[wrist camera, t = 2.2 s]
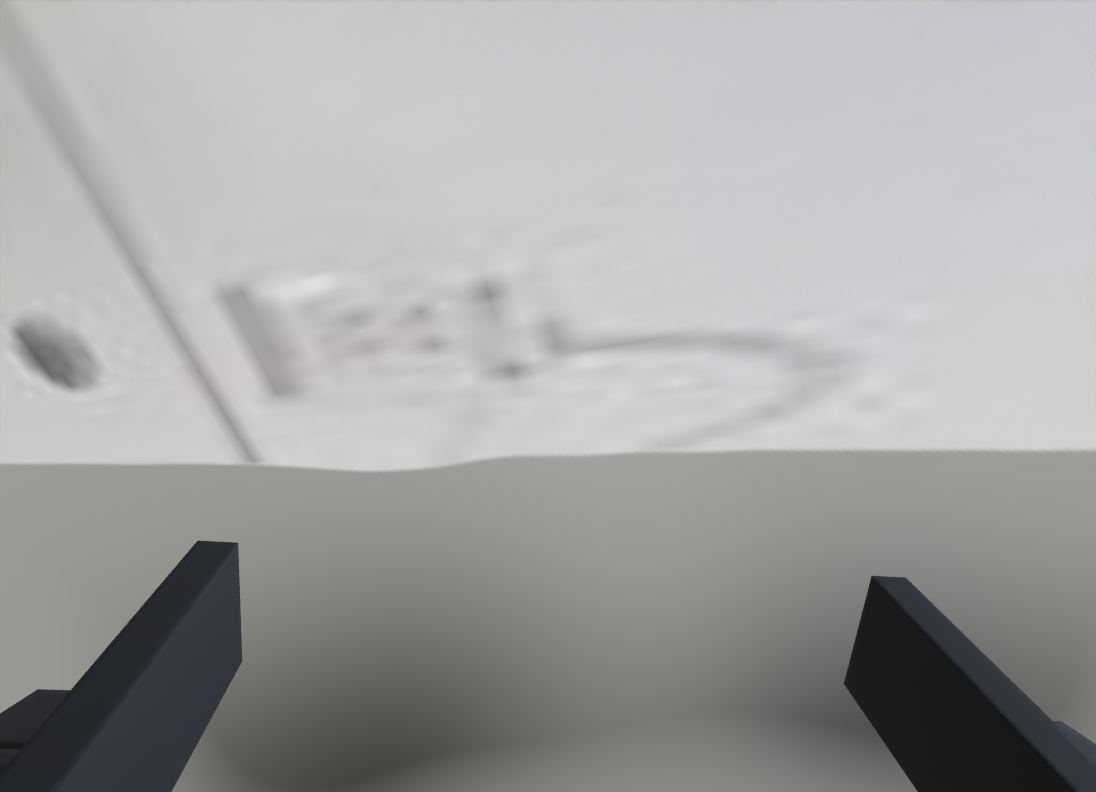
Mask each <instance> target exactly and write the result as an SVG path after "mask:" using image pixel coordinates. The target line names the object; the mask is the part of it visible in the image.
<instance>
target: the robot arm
mask: <svg viewBox="0 0 1096 792" xmlns="http://www.w3.org/2000/svg"><path fill="white" fill-rule="evenodd" d="M241 662H242V645H241V616H240V586H239V557H238V543H231V542H211V541H197V542H196V544H195V545H194V546H193V547H192V548H191V549H190V550H189V552H188V553H187V554H186V555H185V556H184V557H183V559H182V560H181V561H180V562H179V563H178V565H177V566H176V567H175V568H174V569H173V570H172V572H171V573H170V574H169V575H168V576H167V578H166V579H165V580H164V581H163V582H162V583H161V585H160V586H159V587H158V588H157V589H156V590H155V592H154V593H153V594H152V595H151V596H150V598H149V599H148V600H147V601H146V602H145V603H144V605H143V606H142V607H141V608H140V610H139V611H138V612H137V613H136V614H135V615H134V616H133V618H132V619H131V620H130V621H129V622H128V623H127V625H126V626H125V627H124V628H123V629H122V631H121V632H120V633H119V634H118V635H117V636H116V638H115V639H114V640H113V641H112V642H111V644H110V645H109V646H108V647H107V648H106V649H105V651H104V652H103V653H102V654H101V655H100V656H99V658H98V659H97V660H96V661H95V662H94V664H93V665H92V666H91V667H90V668H89V669H88V671H87V672H86V673H85V674H84V675H83V676H82V678H81V679H80V680H79V681H78V682H77V684H76V685H75V686H74V687H73V688H72V690H41V689H38V690H36V691H35V692H33V693H32V694H30V695H28V696H27V697H25V698H24V699H22V700H21V701H19V702H17V703H16V704H15V705H13V706H11V707H10V708H8V709H7V710H5V711H3V712H2V713H1V714H0V792H171V791H172V790H173V788H174V786H175V784H176V782H177V780H178V778H179V776H180V775H181V773H182V771H183V769H184V767H185V765H186V764H187V762H188V760H189V758H190V756H191V754H192V753H193V751H194V749H195V747H196V745H197V743H198V742H199V740H200V738H201V736H202V734H203V732H204V730H205V728H206V727H207V725H208V723H209V721H210V719H211V718H212V715H213V714H214V712H215V710H216V708H217V707H218V705H219V703H220V701H221V699H222V697H223V695H224V694H225V692H226V690H227V688H228V686H229V684H230V682H231V681H232V679H233V677H234V675H235V673H236V671H237V670H238V668H239V666H240V664H241ZM844 685H845V686H846V687H847V689H848V690H849V692H850V693H851V695H852V696H853V698H854V699H855V701H856V702H857V704H858V705H859V706H860V708H861V709H862V711H863V712H864V714H865V715H866V716H867V718H868V720H869V721H870V722H871V724H872V725H873V727H874V728H875V729H876V731H877V733H878V734H879V736H880V737H881V739H882V740H883V741H884V743H885V744H886V746H887V747H888V749H889V750H890V752H891V753H892V755H893V756H894V757H895V759H896V760H897V762H898V763H899V765H900V766H901V768H902V769H903V771H904V772H905V774H906V775H907V777H908V778H909V779H910V781H911V782H912V784H913V785H914V787H915V788H916V790H917V791H918V792H1096V744H1095V743H1093V742H1092V741H1090V740H1089V739H1087V738H1086V737H1084V736H1083V735H1081V734H1079V733H1078V732H1077V731H1075V730H1074V729H1072V728H1071V727H1069V726H1068V725H1066V724H1064V723H1063V722H1061V721H1052V720H1051V719H1050V718H1049V717H1048V716H1047V715H1046V714H1045V713H1044V712H1043V711H1042V710H1041V709H1040V708H1039V707H1038V706H1037V705H1036V704H1035V703H1034V702H1032V700H1030V698H1029V697H1027V696H1026V695H1025V694H1024V693H1023V692H1022V691H1021V690H1020V689H1019V688H1018V687H1017V686H1016V685H1015V684H1014V683H1013V682H1012V681H1011V680H1010V679H1009V678H1008V677H1007V676H1006V675H1005V674H1004V673H1003V672H1002V671H1001V670H1000V669H999V668H998V667H997V666H996V665H995V664H994V663H993V662H992V661H991V660H989V659H988V657H986V655H984V654H983V653H982V652H981V651H980V650H979V649H978V648H977V647H976V646H975V645H974V644H973V643H972V642H971V641H970V640H969V639H968V638H967V637H966V636H965V635H964V634H963V633H962V632H961V631H960V630H959V629H958V628H957V627H956V626H955V625H954V624H953V623H952V622H951V621H950V620H949V619H948V618H947V617H946V616H944V615H943V614H942V613H941V612H940V611H939V610H938V609H937V608H936V607H935V606H934V605H933V604H932V603H931V602H930V601H929V600H928V599H927V598H926V597H925V596H924V595H923V594H922V593H921V592H920V591H919V590H918V589H917V588H916V587H915V586H914V585H912V583H911V582H909V580H908V579H907V578H902V577H883V576H872V577H871V581H870V584H869V588H868V592H867V597H866V600H865V604H864V608H863V612H862V616H861V620H860V624H859V628H858V631H857V635H856V639H855V643H854V647H853V651H852V655H851V658H850V662H849V667H848V670H847V674H846V678H845V682H844Z"/></svg>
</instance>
